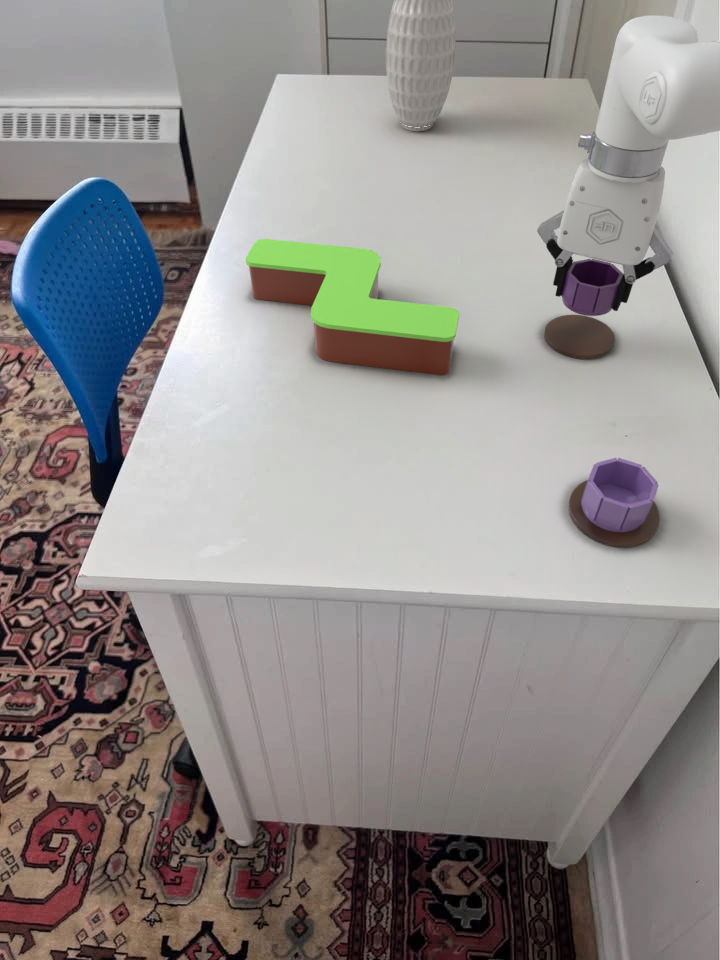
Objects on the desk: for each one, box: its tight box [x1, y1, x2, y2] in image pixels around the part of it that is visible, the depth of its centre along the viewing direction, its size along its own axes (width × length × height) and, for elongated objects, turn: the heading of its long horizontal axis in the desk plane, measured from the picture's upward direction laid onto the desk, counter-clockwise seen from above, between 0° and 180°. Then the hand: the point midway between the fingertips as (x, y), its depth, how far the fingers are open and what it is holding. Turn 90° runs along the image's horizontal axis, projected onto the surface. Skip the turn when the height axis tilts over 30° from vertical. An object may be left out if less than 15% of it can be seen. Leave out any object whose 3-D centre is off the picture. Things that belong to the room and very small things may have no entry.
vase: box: [385, 0, 457, 132], centre depth 132 cm, size 13×13×28 cm
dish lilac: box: [581, 457, 659, 532], centre depth 72 cm, size 6×6×4 cm
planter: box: [245, 238, 460, 376], centre depth 95 cm, size 30×18×6 cm, turn 78°
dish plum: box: [561, 258, 624, 317], centre depth 89 cm, size 6×6×4 cm
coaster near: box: [568, 479, 660, 548], centre depth 74 cm, size 9×9×1 cm
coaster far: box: [543, 314, 616, 360], centre depth 94 cm, size 9×9×1 cm
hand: (589, 296), depth 90 cm, fingers closed on dish plum, 6 cm apart
